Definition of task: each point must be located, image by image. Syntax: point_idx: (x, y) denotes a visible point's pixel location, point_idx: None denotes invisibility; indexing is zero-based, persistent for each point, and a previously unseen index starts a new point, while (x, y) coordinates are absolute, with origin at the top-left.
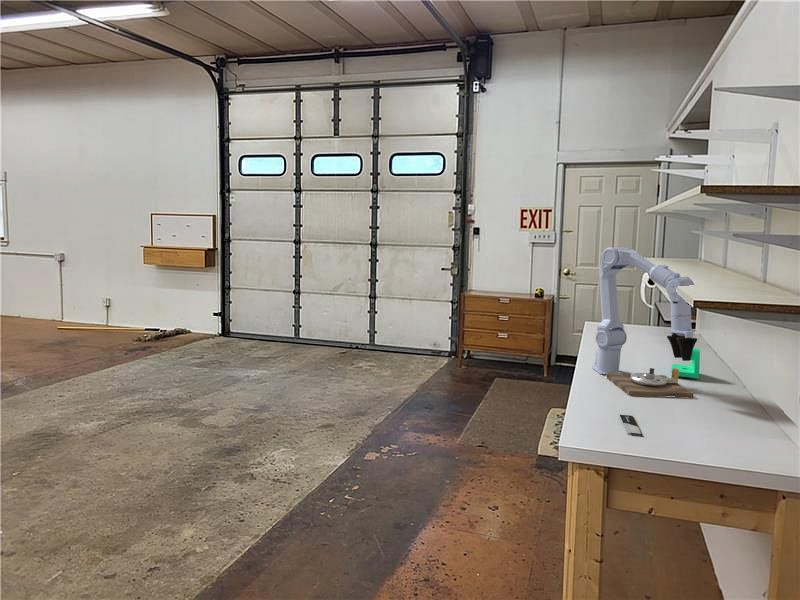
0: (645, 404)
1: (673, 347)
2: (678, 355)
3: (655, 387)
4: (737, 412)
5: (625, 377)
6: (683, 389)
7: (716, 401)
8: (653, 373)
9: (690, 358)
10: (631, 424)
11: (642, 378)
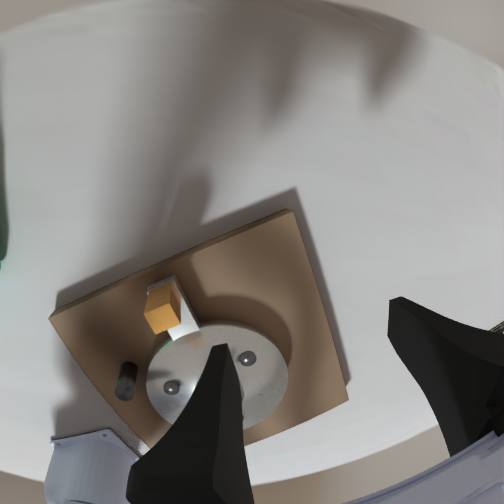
0: None
1: (243, 442)
2: (234, 372)
3: None
4: (388, 87)
5: None
6: (250, 250)
7: (291, 122)
8: (130, 375)
9: (411, 302)
10: None
11: (245, 403)
